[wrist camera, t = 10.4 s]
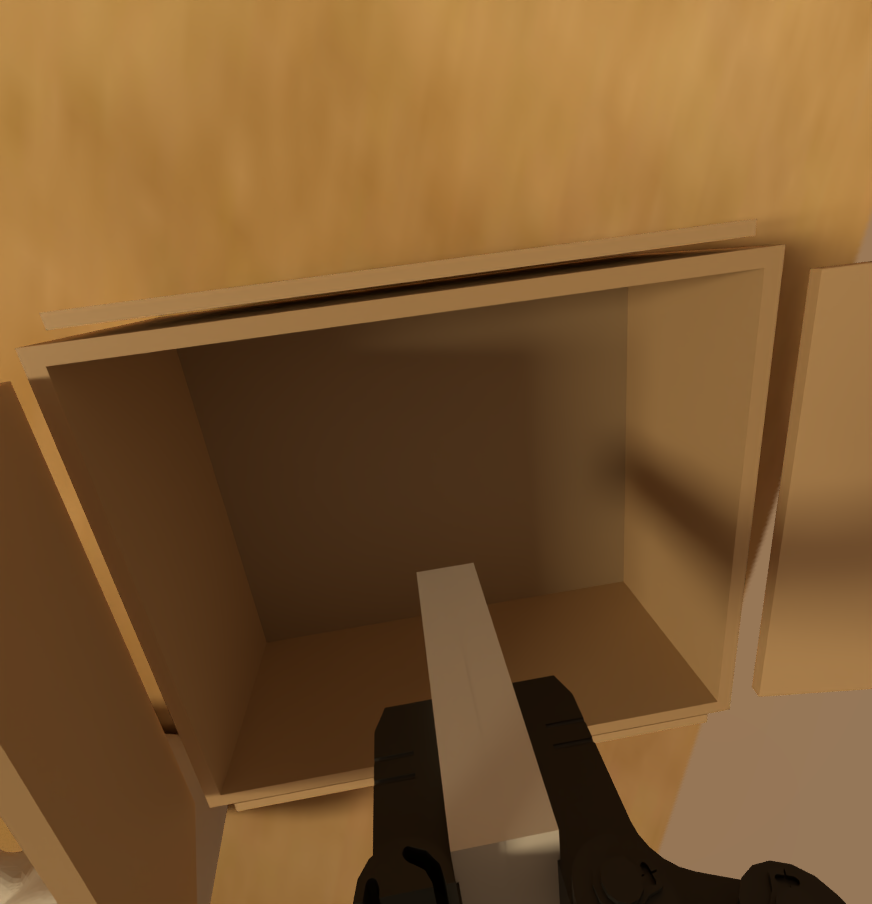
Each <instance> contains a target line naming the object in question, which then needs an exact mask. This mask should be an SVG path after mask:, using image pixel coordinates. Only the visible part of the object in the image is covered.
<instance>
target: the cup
mask: <svg viewBox="0 0 872 904" xmlns="http://www.w3.org/2000/svg"><path fill="white" fill-rule="evenodd" d="M165 736H166V738H167V740H168V742H169V745H170V747H171V749H172V752H173V754H174V756H175V758H176V761H177V763H178V765H179V768H180V770H181V772H182V774H183V777H184V779H185V781H186V784H187V786H188V788H189V790H190V793H191V795H192V797H193V800H194V802H195V827H196V874H197V904H210V901H211V896H212V890H213V885H214V879H215V873H216V868H217V862H218V857H219V851H220V846H221V840H222V835H223V829H224V823H225V818H226V812H227V806H228V805H222V806H217V807H212V808H210V807H209V804H208V802H207V800H206V797H205V795H204V793H203V790H202V788H201V786H200V783H199V781H198V779H197V776H196V774H195V771H194V769H193V767H192V764H191V762H190V760H189V757H188V755H187V753H186V750H185V748H184V746H183V743H182V741H181V738H180V736H179V735H176V734H165ZM0 904H58V903H57V902H56V900H55V899H54V897H53V896H52V894H51V893H50V891H49V890H48V888H47V887H46V885H45V884H44V882H43V880H42V879H41V877H40V876H39V874H38V873H37V871H36V870H35V868H34V867H33V865H32V864H31V862H30V861H29V859H28V858H27V856H26V854H25V853H24V851H21V852H15V853H11V852H5V851H2V850H0Z"/></svg>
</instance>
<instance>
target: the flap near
mask: <svg viewBox="0 0 872 904" xmlns="http://www.w3.org/2000/svg"><path fill="white" fill-rule="evenodd" d="M0 816H1V818H2V819H3V821H4V822H5V824H6V825H7V827H8V829H9V830H10V832H11V833H12V835H13V836H14V838H15V839H16V841H17V842H18V844H19V845H20V847H21V848H22V850H23V851H24V853H25V854H26V856H27V858H28V859H29V861H30V862H31V864H32V865H33V867H34V868H35V870H36V871H37V873H38V874H39V876H40V877H41V879H42V880H43V882H44V884H45V885H46V887H47V888H48V890H49V891H50V893H51V894H52V896H53V897H54V899H55V900H56V902H57V903H58V904H197V874H196V827H195V802H194V800H193V797H192V795H191V793H190V790H189V788H188V786H187V784H186V781H185V779H184V777H183V774H182V772H181V770H180V768H179V765H178V763H177V761H176V758H175V756H174V754H173V752H172V749H171V747H170V745H169V742H168V740H167V738H166V736H165V733H164V731H163V729H162V726H161V724H160V722H159V720H158V717H157V715H156V713H155V710H154V708H153V706H152V704H151V701H150V699H149V697H148V695H147V692H146V690H145V688H144V685H143V683H142V681H141V679H140V676H139V674H138V672H137V669H136V667H135V665H134V663H133V660H132V658H131V656H130V653H129V651H128V649H127V647H126V644H125V642H124V640H123V637H122V635H121V633H120V631H119V628H118V626H117V624H116V621H115V619H114V617H113V615H112V612H111V610H110V608H109V605H108V603H107V601H106V599H105V596H104V594H103V592H102V590H101V587H100V585H99V583H98V580H97V578H96V576H95V574H94V571H93V569H92V567H91V564H90V562H89V560H88V558H87V555H86V553H85V551H84V548H83V546H82V544H81V542H80V539H79V537H78V535H77V532H76V530H75V528H74V526H73V523H72V521H71V519H70V516H69V514H68V512H67V510H66V507H65V505H64V503H63V500H62V498H61V496H60V494H59V491H58V489H57V487H56V484H55V482H54V480H53V478H52V475H51V473H50V471H49V469H48V466H47V464H46V462H45V459H44V457H43V455H42V453H41V450H40V448H39V446H38V443H37V441H36V439H35V437H34V434H33V432H32V430H31V427H30V425H29V423H28V421H27V418H26V416H25V414H24V411H23V409H22V407H21V405H20V402H19V400H18V398H17V395H16V393H15V391H14V389H13V386H12V384H11V382H4V383H0Z"/></svg>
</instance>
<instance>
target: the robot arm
mask: <svg viewBox="0 0 872 904" xmlns="http://www.w3.org/2000/svg"><path fill="white" fill-rule="evenodd" d="M416 573H417V581H418V589H419V597H420V606H421V614H422V622H423V630H424V639H425V647H426V655H427V663H428V672H429V680H430V688H431V696H432V699H430V700H424V701H419V702H413V703H408V704H403V705H397V706H392V707H386V708H384V711H383V713H382V715H381V718H380V720H379V722H378V725H377V727H376V729H375V732H374V761H375V764H374V811H373V856H372V857H371V858H370V859H369V860H368V862H367V864H366V865H365V867H364V869H363V871H362V873H361V874H360V876H359V878H358V881H357V886H356V891H355V896H354V901H353V904H846V903H845V902H844V901H843V900H842V899H841V898H840V897H839V896H838V895H837V894H836V893H834V892H833V891H832V890H831V889H830V888H829V887H827V886H826V885H825V884H824V883H823V882H821V881H820V880H819V879H818V878H817V877H815V876H813V875H812V874H810V873H807V872H805V871H803V870H802V869H799V868H798V867H796V866H794V865H791V864H786V863H781V862H775V861H766V862H763V863H759V864H755V865H752V866H751V867H750V868H749V870H748V871H747V872H746V873H745V874H744V875H743V877H742V878H741V880H739V879H733V878H728V877H722V876H717V875H711V874H706V873H700V872H695V871H691V870H688V869H685V868H681V867H678V866H677V865H675V864H673V863H671V862H669V861H667V860H665V859H663V858H662V857H661V856H660V855H659V854H657V853H656V852H655V851H654V850H652V849H651V848H650V847H649V846H648V845H647V844H646V843H645V842H644V840H643V839H642V838H641V837H640V836H639V835H638V833H637V831H636V830H635V828H634V826H633V824H632V823H631V821H630V819H629V817H628V815H627V812H626V810H625V808H624V806H623V804H622V801H621V799H620V797H619V795H618V793H617V790H616V788H615V786H614V784H613V782H612V779H611V777H610V775H609V773H608V771H607V768H606V766H605V764H604V762H603V760H602V757H601V755H600V753H599V751H598V749H597V746H596V744H595V742H593V739H592V735H591V733H590V731H589V729H588V727H587V724H586V722H584V719H583V716H582V713H581V711H580V709H579V707H578V705H577V702H576V700H575V698H574V696H573V694H572V693H571V692H570V691H569V690H568V689H567V688H566V687H565V686H564V685H563V684H562V683H561V682H560V681H559V680H558V679H557V678H556V677H555V676H554V675H552V676H547V677H541V678H536V679H530V680H525V681H519V682H514V683H512V682H511V679H510V676H509V673H508V669H507V666H506V663H505V660H504V657H503V654H502V651H501V647H500V644H499V641H498V638H497V635H496V632H495V629H494V626H493V622H492V619H491V616H490V613H489V610H488V607H487V604H486V601H485V597H484V594H483V591H482V588H481V585H480V582H479V579H478V575H477V572H476V569H475V566H474V563H469V564H463V565H457V566H451V567H445V568H439V569H433V570H427V571H421V572H416Z"/></svg>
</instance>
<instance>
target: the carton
mask: <svg viewBox="0 0 872 904" xmlns="http://www.w3.org/2000/svg"><path fill="white" fill-rule="evenodd" d="M756 223H757V219H750V220H743V221H735V222H728V223H720V224H712V225H705V226H697V227H690V228H682V229H674V230H667V231H659V232H651V233H644V234H636V235H629V236H621V237H613V238H606V239H598V240H591V241H583V242H575V243H568V244H560V245H552V246H545V247H537V248H530V249H522V250H514V251H507V252H499V253H492V254H484V255H476V256H469V257H461V258H453V259H446V260H438V261H431V262H423V263H415V264H408V265H400V266H392V267H385V268H377V269H370V270H362V271H354V272H347V273H339V274H332V275H324V276H316V277H309V278H301V279H293V280H286V281H278V282H271V283H263V284H255V285H248V286H240V287H233V288H225V289H217V290H210V291H202V292H194V293H187V294H179V295H172V296H164V297H156V298H149V299H141V300H134V301H126V302H118V303H111V304H103V305H95V306H88V307H80V308H73V309H65V310H57V311H50V312H42V313H39V314H40V316H41V319H42V321H43V324H44V326H45V329H46V330H52V329H60V328H67V327H75V326H82V325H90V324H97V323H105V322H112V321H120V320H127V319H135V318H142V317H150V316H157V315H165V314H172V313H180V312H187V311H195V310H202V309H210V308H217V307H225V306H232V305H240V304H247V303H255V302H262V301H270V300H277V299H285V298H292V297H300V296H307V295H315V294H322V293H330V292H337V291H345V290H352V289H360V288H367V287H375V286H382V285H390V284H397V283H405V282H412V281H420V280H427V279H435V278H442V277H450V276H457V275H465V274H472V273H480V272H487V271H495V270H502V269H510V268H517V267H525V266H532V265H540V264H547V263H555V262H562V261H570V260H577V259H585V258H592V257H600V256H607V255H615V254H622V253H630V252H637V251H645V250H652V249H660V248H667V247H675V246H682V245H690V244H697V243H705V242H712V241H720V240H727V239H735V238H742V237H750V236H755V233H756ZM784 254H785V245H770V246H753V247H737V248H721V249H705V250H689V251H673V252H657V253H641V254H630V255H623V256H615V257H608V258H600V259H593V260H585V261H578V262H570V263H563V264H555V265H548V266H540V267H533V268H525V269H518V270H510V271H503V272H495V273H488V274H480V275H473V276H465V277H458V278H450V279H443V280H436V281H428V282H421V283H413V284H406V285H398V286H391V287H383V288H376V289H368V290H361V291H353V292H346V293H338V294H331V295H323V296H316V297H308V298H301V299H293V300H286V301H278V302H271V303H263V304H256V305H248V306H241V307H233V308H226V309H218V310H211V311H203V312H196V313H188V314H181V315H173V316H166V317H158V318H154V319H149V320H145V321H140V322H135V323H131V324H126V325H121V326H117V327H112V328H107V329H103V330H98V331H93V332H89V333H84V334H80V335H75V336H70V337H66V338H61V339H56V340H52V341H47V342H42V343H38V344H33V345H29V346H24V347H19V348H15V350H16V352H17V354H18V357H19V359H20V361H21V364H22V366H23V368H24V371H25V373H26V376H27V378H28V380H29V383H30V385H31V387H32V390H33V392H34V394H35V397H36V399H37V401H38V404H39V406H40V409H41V411H42V413H43V416H44V418H45V420H46V423H47V425H48V427H49V430H50V432H51V434H52V437H53V439H54V442H55V444H56V446H57V449H58V451H59V453H60V456H61V458H62V460H63V463H64V465H65V467H66V470H67V472H68V475H69V477H70V479H71V482H72V484H73V486H74V489H75V491H76V493H77V496H78V498H79V500H80V503H81V505H82V508H83V510H84V512H85V515H86V517H87V519H88V522H89V524H90V526H91V529H92V531H93V533H94V536H95V538H96V541H97V543H98V545H99V548H100V550H101V552H102V555H103V557H104V559H105V562H106V564H107V566H108V569H109V571H110V574H111V576H112V578H113V581H114V583H115V585H116V588H117V590H118V592H119V595H120V597H121V599H122V602H123V604H124V607H125V609H126V611H127V614H128V616H129V618H130V621H131V623H132V625H133V628H134V630H135V632H136V635H137V637H138V639H139V642H140V644H141V647H142V649H143V651H144V654H145V656H146V658H147V661H148V663H149V665H150V668H151V670H152V672H153V675H154V677H155V680H156V682H157V684H158V687H159V689H160V691H161V694H162V696H163V698H164V701H165V703H166V705H167V708H168V710H169V713H170V715H171V717H172V720H173V722H174V724H175V727H176V729H177V731H178V734H179V736H180V738H181V741H182V743H183V746H184V748H185V750H186V753H187V755H188V757H189V760H190V762H191V764H192V767H193V769H194V771H195V774H196V776H197V779H198V781H199V783H200V786H201V788H202V790H203V793H204V795H205V797H206V800H207V802H208V804H209V807H210V808H212V807H217V806H222V805H228V804H233V803H234V805H235V808H236V810H237V811H243V810H248V809H253V808H258V807H264V806H269V805H274V804H279V803H285V802H290V801H295V800H300V799H306V798H311V797H316V796H321V795H327V794H332V793H337V792H342V791H348V790H353V789H358V788H363V787H369V786H374V764H375V761H374V732H375V729H376V727H377V725H378V722H379V720H380V718H381V715H382V713H383V711H384V708H386V707H392V706H397V705H403V704H408V703H413V702H419V701H424V700H430V699H432V696H431V688H430V680H429V672H428V663H427V655H426V647H425V639H424V630H423V622H422V614H421V606H420V597H419V589H418V581H417V573H416V572H421V571H427V570H433V569H439V568H445V567H451V566H457V565H463V564H469V563H474V566H475V569H476V572H477V575H478V579H479V582H480V585H481V588H482V591H483V594H484V597H485V601H486V604H487V607H488V610H489V613H490V616H491V619H492V622H493V626H494V629H495V632H496V635H497V638H498V641H499V644H500V647H501V651H502V654H503V657H504V660H505V663H506V666H507V669H508V673H509V676H510V679H511V682H512V683H514V682H519V681H525V680H530V679H536V678H541V677H547V676H552V675H554V676H555V677H556V678H557V679H558V680H559V681H560V682H561V683H562V684H563V685H564V686H565V687H566V688H567V689H568V690H569V691H570V692H571V693H572V694H573V696H574V698H575V700H576V702H577V705H578V707H579V709H580V711H581V713H582V716H583V719H584V722H586V724H587V727H588V729H589V731H590V733H591V735H592V739H593V742H595V743H600V742H605V741H610V740H615V739H621V738H626V737H631V736H636V735H642V734H647V733H652V732H657V731H663V730H668V729H673V728H678V727H684V726H689V725H694V724H699V723H705V722H707V714H708V713H713V712H718V711H724V710H729V709H730V701H731V693H732V684H733V676H734V668H735V660H736V651H737V643H738V635H739V626H740V618H741V610H742V602H743V593H744V585H745V577H746V569H747V560H748V552H749V544H750V535H751V527H752V519H753V511H754V502H755V494H756V486H757V477H758V469H759V461H760V453H761V444H762V436H763V428H764V419H765V411H766V403H767V394H768V386H769V378H770V370H771V361H772V353H773V345H774V336H775V328H776V320H777V312H778V303H779V295H780V287H781V278H782V270H783V262H784Z"/></svg>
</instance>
